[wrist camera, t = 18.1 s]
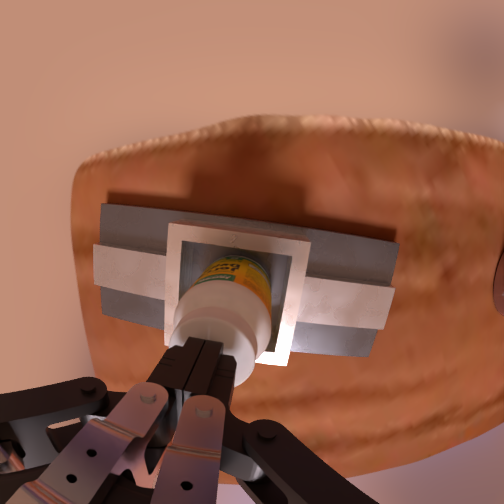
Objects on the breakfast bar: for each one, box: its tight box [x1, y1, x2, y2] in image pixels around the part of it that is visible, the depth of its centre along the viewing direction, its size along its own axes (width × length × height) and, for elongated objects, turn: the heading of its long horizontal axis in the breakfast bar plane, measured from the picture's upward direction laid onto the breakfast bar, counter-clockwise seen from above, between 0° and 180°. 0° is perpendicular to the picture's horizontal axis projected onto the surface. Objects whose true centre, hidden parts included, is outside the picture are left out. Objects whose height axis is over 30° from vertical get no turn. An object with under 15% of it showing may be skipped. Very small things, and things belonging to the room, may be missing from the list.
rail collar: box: [93, 203, 400, 366], centre depth 20 cm, size 24×10×4 cm, turn 83°
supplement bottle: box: [169, 255, 272, 387], centre depth 16 cm, size 5×5×10 cm
